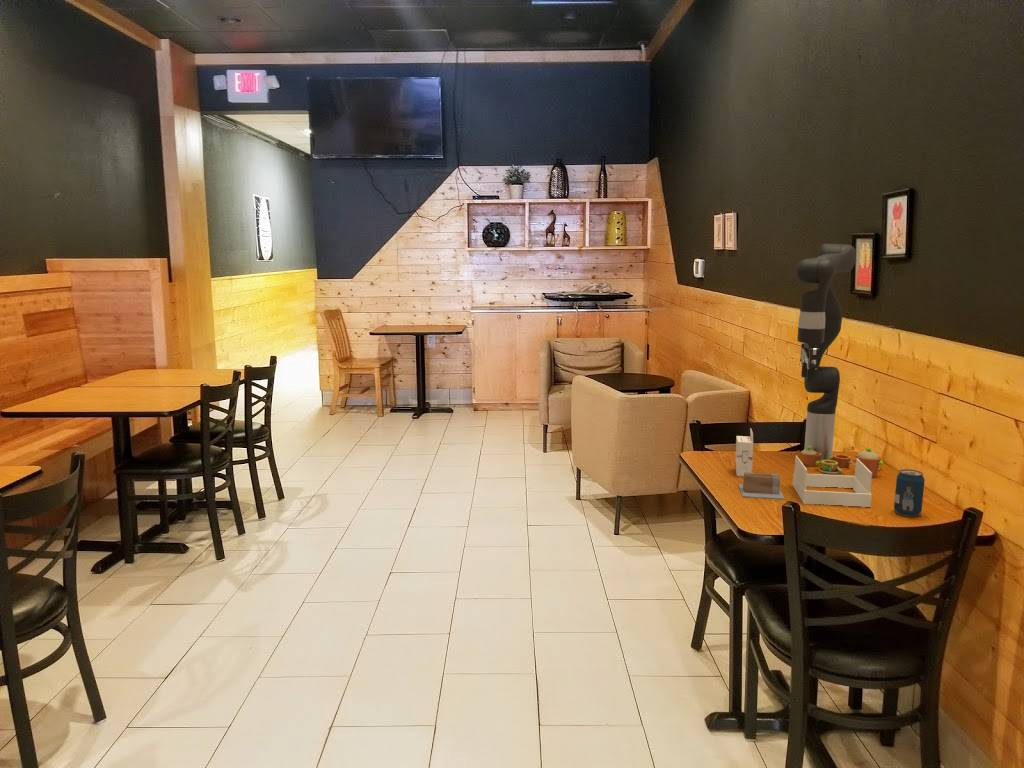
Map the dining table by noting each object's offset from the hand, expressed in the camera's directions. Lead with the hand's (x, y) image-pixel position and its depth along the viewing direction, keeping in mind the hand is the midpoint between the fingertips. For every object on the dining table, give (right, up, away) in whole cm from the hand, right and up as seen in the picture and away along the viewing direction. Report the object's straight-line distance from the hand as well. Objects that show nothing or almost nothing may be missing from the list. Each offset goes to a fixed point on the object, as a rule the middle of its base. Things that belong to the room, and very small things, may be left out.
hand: (807, 379), depth 230 cm
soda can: (+21, -38, -18) cm, 47 cm away
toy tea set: (+21, -31, +24) cm, 45 cm away
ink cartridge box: (-13, -31, +20) cm, 40 cm away
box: (-14, -34, 0) cm, 37 cm away
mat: (-14, -35, 0) cm, 37 cm away
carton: (+6, -35, -3) cm, 36 cm away
